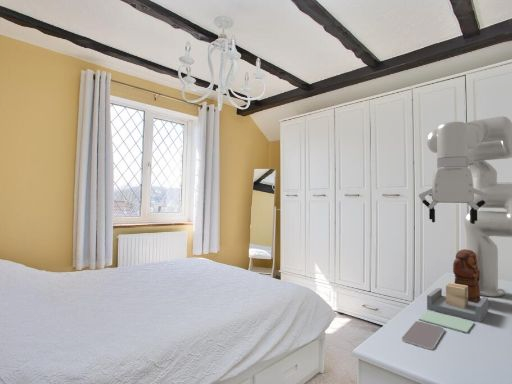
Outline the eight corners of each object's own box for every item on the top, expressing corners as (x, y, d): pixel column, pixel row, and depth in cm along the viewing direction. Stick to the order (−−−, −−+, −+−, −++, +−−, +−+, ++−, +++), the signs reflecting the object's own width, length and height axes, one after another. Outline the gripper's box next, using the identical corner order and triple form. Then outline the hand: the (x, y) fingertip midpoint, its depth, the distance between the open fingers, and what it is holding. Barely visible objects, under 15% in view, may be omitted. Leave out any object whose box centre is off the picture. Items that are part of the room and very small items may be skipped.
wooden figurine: (473, 305, 101) (472, 252, 101) (451, 300, 106) (451, 250, 106) (483, 298, 108) (482, 249, 108) (462, 294, 113) (462, 246, 113)
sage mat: (428, 312, 95) (428, 310, 95) (474, 323, 86) (474, 322, 86) (418, 319, 89) (418, 318, 89) (467, 333, 80) (467, 331, 80)
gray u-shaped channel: (437, 300, 106) (437, 287, 106) (487, 311, 96) (487, 297, 96) (427, 309, 97) (427, 295, 98) (480, 322, 87) (480, 307, 87)
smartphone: (399, 339, 76) (415, 320, 87) (399, 342, 76) (415, 323, 87) (432, 349, 71) (445, 328, 82) (432, 352, 71) (445, 331, 82)
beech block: (450, 300, 100) (450, 282, 100) (468, 304, 96) (467, 285, 97) (446, 304, 97) (446, 285, 97) (464, 308, 93) (464, 289, 93)
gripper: (485, 164, 87) (486, 223, 86) (418, 167, 95) (418, 220, 95) (491, 162, 80) (492, 225, 80) (418, 165, 88) (418, 222, 88)
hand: (452, 222), depth 87 cm, fingers open, 9 cm apart
